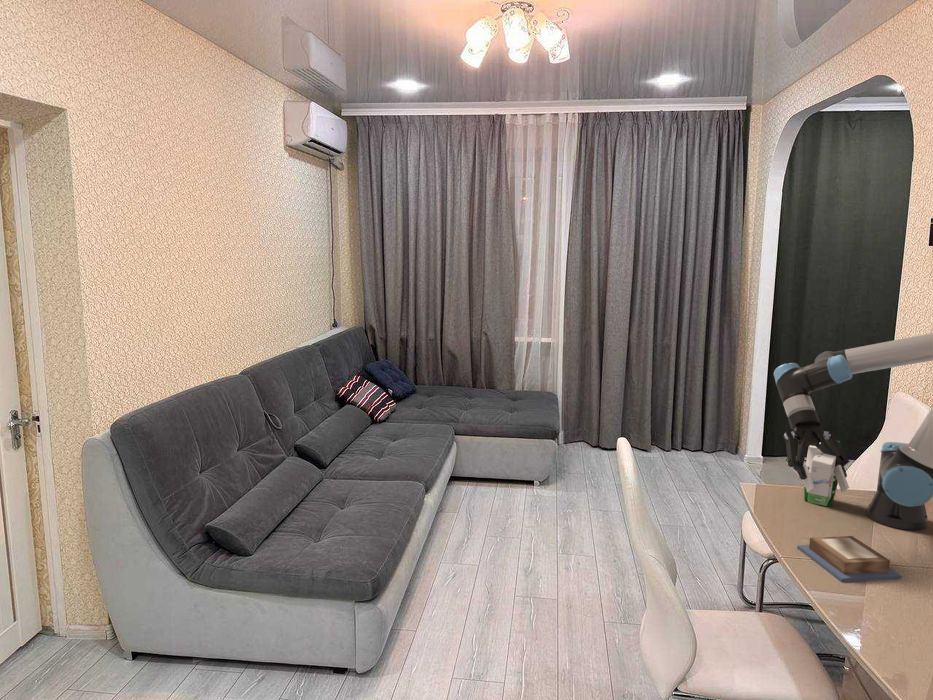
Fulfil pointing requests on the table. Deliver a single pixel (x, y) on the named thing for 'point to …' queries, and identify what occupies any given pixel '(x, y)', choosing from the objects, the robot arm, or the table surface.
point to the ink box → (822, 478)
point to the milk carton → (810, 455)
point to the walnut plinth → (849, 555)
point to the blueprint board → (847, 577)
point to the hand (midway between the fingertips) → (828, 490)
